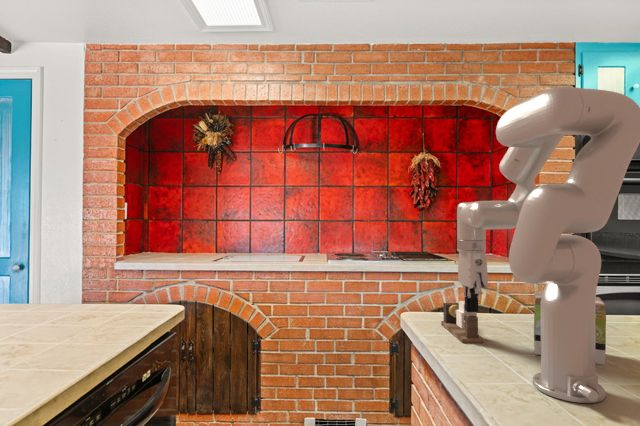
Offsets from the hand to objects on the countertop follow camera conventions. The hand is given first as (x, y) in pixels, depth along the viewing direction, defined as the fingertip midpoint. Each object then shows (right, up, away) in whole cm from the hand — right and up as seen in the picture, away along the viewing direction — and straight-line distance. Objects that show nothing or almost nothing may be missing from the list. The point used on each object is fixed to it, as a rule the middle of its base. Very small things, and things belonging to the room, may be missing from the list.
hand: (471, 311), depth 111 cm
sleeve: (0, -5, +4) cm, 6 cm away
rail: (0, -9, +8) cm, 12 cm away
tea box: (+21, -9, -10) cm, 25 cm away
